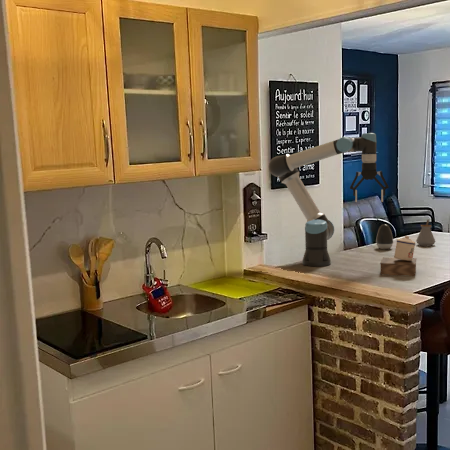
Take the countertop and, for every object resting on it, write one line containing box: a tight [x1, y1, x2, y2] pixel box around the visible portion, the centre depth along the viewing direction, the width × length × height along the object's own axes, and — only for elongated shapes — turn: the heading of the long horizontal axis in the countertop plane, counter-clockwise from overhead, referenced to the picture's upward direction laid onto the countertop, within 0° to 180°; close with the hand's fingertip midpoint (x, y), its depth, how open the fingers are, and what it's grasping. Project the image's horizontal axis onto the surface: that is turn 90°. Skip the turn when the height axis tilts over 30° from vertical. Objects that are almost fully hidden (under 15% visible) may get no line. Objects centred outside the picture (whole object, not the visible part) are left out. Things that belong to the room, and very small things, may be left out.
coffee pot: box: [415, 219, 436, 247], centre depth 373 cm, size 21×12×15 cm, turn 156°
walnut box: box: [379, 256, 418, 277], centre depth 290 cm, size 16×16×6 cm
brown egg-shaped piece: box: [375, 223, 394, 250], centre depth 361 cm, size 10×10×15 cm
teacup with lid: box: [393, 235, 416, 261], centre depth 289 cm, size 12×9×12 cm
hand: (369, 202), depth 316 cm, fingers open, 13 cm apart
